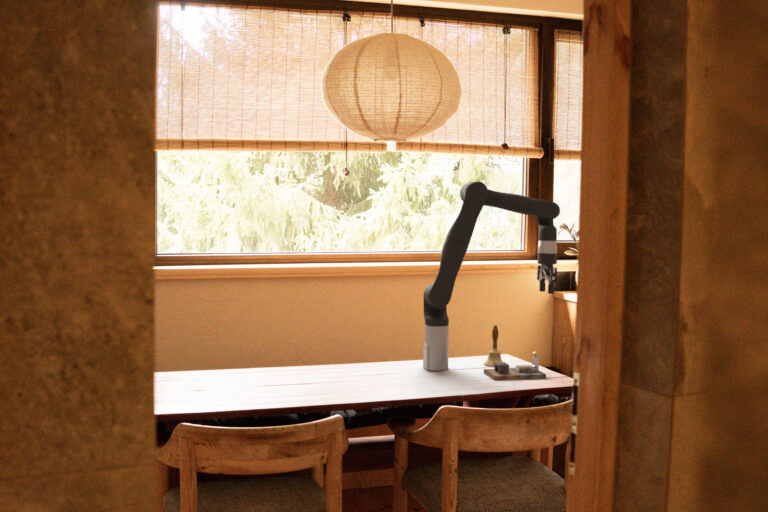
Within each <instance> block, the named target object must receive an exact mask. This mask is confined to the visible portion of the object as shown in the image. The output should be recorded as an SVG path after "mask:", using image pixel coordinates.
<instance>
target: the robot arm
mask: <svg viewBox="0 0 768 512" xmlns="http://www.w3.org/2000/svg"><path fill="white" fill-rule="evenodd" d="M459 196H460V200H462V204H461V208H460V211H459V213H458V214H457V215H458V216H457V217H456V219H455V220H454V222H453V224H452V225H451V226H450V228H449V230H448V231H447V234H446V237H445V240H444V242H443V245H442V249H441V255H440V263H439V269H438V273H437V276H436V278H435V279H434V282H433V283H430V284H428V285H427V286H426V287H425V289H424V292H423V318H424V343H423V344H422V345H423V349H422V350H423V352H422V356H423V357H422V360H423V361H422V368H423V369H424V370H425V371H431V372H432V371H435V372H436V371H437V372H440V371H447V370H449V332H450V330H449V329H450V328H449V327H450V326H449V325H450V321H449V316H448V312H447V307H448V305H449V304H450V301H451V299H452V295H453V291H454V288H455V284H456V279H457V277H458V273H459V271H460V269H461V267H462V264H463V261H464V259H465V256H466V253H467V251H468V248H469V245H470V243H471V242H470V241H471V238H472V236H473V233H474V230H475V228H476V227H475V226H476V224H477V221H478V218H479V216H480V214H481V212H482V210H483V207H484V206H485V207H492V208H498V209H502V210H505V211H507V212H508V211H510V212H513V213H517V214H521V215H526V216H535V217H536V220H537V221H536V222H537V227H538V242H537V243H538V244H537V264H538V265H537V272H536V273H537V276H536V280H537V281H538V282H539V289H538V290H539V291H540V292H541V293H543V292H546V281H547V283H548V284H547V293H548V294H549V295H552V294H554V293H555V284H557V283H558V268H557V267H554V265H556V264H557V263H558V244H557V243H558V242H557V239H558V237H557V236H558V235H557V234H558V232H557V231H558V230H557V227H556V226H555V225H554V220H555V219H556V218H558V217H559V216H560V213H561V208H560V206H559V205H558V204H557V202H554V201H551V200H546V199H539V198H533V197H530V196H526V195H521V194H515V193H509V192H501V191H496V190H492V189H489V188H488V187H487V186H486V184H485V183H483V182H482V181H478V180H477V181H476V180H474V181H469V182H467V183H465V184H463V186H462V187H461V188H460V190H459Z"/></svg>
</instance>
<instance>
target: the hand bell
mask: <svg viewBox="0 0 768 512" xmlns="http://www.w3.org/2000/svg"><path fill="white" fill-rule="evenodd" d="M498 328H499V327H498V325H497V324H495V325H493V328H492V331H491V338H492V349H490V351H489V352H488V357H487V359H486V361H485V362H484V363H483V366H486V367H490V366H491V367H493V368H495V363H499V362H503V360H502V356H501V351H499V350H498V339H499V329H498Z"/></svg>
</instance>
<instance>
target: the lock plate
mask: <svg viewBox="0 0 768 512" xmlns="http://www.w3.org/2000/svg"><path fill="white" fill-rule="evenodd" d="M483 374H484V375H486V376H487V377H489V378H490V379H491V380H493V381H504V380H505V381H507V380H508V381H510V380H512V381H513V380H514V381H515V380H535V379H541V380H542V379H547V374H546V373H544V372H542V371H541V370H539V371H532V368H521V372H518V371H516V367H512V368H511V367H510V364H508V363H506V362H505V361H504V362H503V361H502V362H499V363H495V367H494V368H484V369H483Z"/></svg>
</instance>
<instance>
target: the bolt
mask: <svg viewBox="0 0 768 512" xmlns="http://www.w3.org/2000/svg"><path fill="white" fill-rule="evenodd" d="M539 360H540V357H539V353H538V352H537V351H534V352H533V353H532V359H531V364H518V365H515V368H516V371H518V372H521V368H532V371H540V370H539V368H540V367H539V364H540V363H539Z"/></svg>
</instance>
